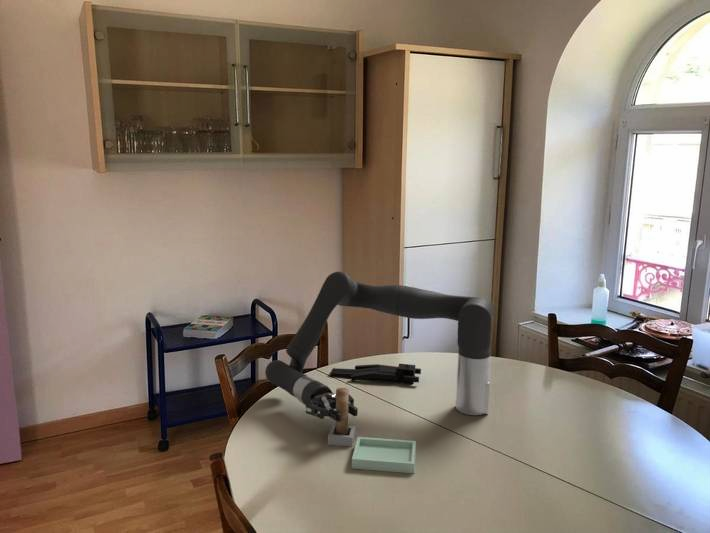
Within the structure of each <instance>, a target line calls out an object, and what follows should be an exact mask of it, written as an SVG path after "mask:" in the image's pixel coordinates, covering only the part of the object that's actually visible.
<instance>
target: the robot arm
mask: <svg viewBox="0 0 710 533" xmlns="http://www.w3.org/2000/svg"><path fill="white" fill-rule="evenodd" d="M337 306H341V307H349V308H351V307H352V308H360V309H361V308H363V309H369V310H374V311H376V312H381V313H385V314H389V315H392V316H398V317H401V318H402V317H403V318H405V319H406V318H408V319H415V320H429V319H448V320H453V321H457V348H458V350H457V351H458V352H457V353H458V354H457V371H456V373H457V374H456V376H457V377H456V391H455V395H456V396H455V409H456V410H457V411H458V412H459V413H461V414H464V415H466V416H481V415H488V414H489V404H490V386H491V385H490V384H491V383H490V371H491V370H490V369H491V354H492V347H491V332H492V323H493V320H494V318H495V308H494V306H493V305H492V303H491V302H490V301H488V300H487V299H485V298H483V297H478V296H467V295H466V296H462V295H453V294H447V293H441V292H437V291H433V290H428V289H422V288H418V287H414V286H407V285H401V284H389V285H372V284H366V283H361V282H359V281H355V280H353V279H352V278H351V277H350V276H349V275H348V274H347V273H345V272H343V271H334V272H332V273H330V274H329V275H328V276H327V277H326V278H325V280H324V282H323V283H322V286H321V288H320V290H319V292H318V295H317V296H316V299H315V301H314V303H313V304H312V307H311V309H310V311H309V312H308V314H307V316H306V318H305V319H304V321H303V323H302V324H301V325H300V327H299V329H298V330H297V332H296V333H295V334H294V336H293V338H292V339H291V341H290V342H289V343H288V345H287V346H286V349H285V353H286V354H287V355H288V356H289V358H290V363H289V364H288V363H286V362H285V361H282V360H279V359H274V360H272V361H270V362H269V363H268V364H267V365H266V367H265V370H264V374H265V378H266V379H267V381H268V382H269V383H271V384H273V385H275V386H277V387H279V388H281V389H282V390H284V391H285V392H287V393H288V394H290V395H291V396H292V397H294V398H295V399H297V401H299V402H300V403H302V404H303V405H304V406H305V413H306V415H307V414H308V415H310V416H313V417H316V418H318V419H325V418H327V419H329V418H330V419H332V421H335V422H336V421H337V422H340V421H341V414H340V413H339V412H337V411H336V393H334V392H333V391H332V390H331V388H330V387H329V386H328V385H326V384H324V383H322V382H321V381H319V380H317V379H315V378H314V377H310V376H308V375H306V374H305V373H303V371H304V368H305V365H306V363H307V360H308V358H309V356H310V355H311V353H312V352H313V350H314V349H315V347H316V346H317V344H318V343H319V340H320V339H321V336H322V334H323V331H324V328H325V326H326V323H327V321H328V319H329V317H330V315H331V313H332V312H333V310H334V309H335V308H336V307H337ZM358 409H359V408H358V407H356V406H355V399H354V398H353V397H352V396H351V394H350V393H348V415H350V416H353V417H357V416H358V414H359V413H358Z"/></svg>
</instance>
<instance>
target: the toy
mask: <svg viewBox="0 0 710 533" xmlns="http://www.w3.org/2000/svg"><path fill="white" fill-rule="evenodd" d="M421 374H422V368H417V367H416V364H407V363H398V365H397V366H395V365H385V364H378V363H377V364H376V363H375V364H360V365H359V364H358V365H355V366H354V368H334V367H333V368H332V369H331V371H330V372H329V375H330V376H329V377H332V378H342V377H343V378H345V379H351V382H354V381H361V380H368V379H384V380H393V381H394V380H396V383H397V384H406V385H408V384H409V385H414V383H417V384H418V383H419V382H420V376H416V375H421ZM343 378H342V379H343Z"/></svg>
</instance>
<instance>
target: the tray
mask: <svg viewBox="0 0 710 533" xmlns="http://www.w3.org/2000/svg"><path fill="white" fill-rule="evenodd" d="M416 449H417V440H406V439H404V440H403V439H395V438H394V439H393V438H392V439H391V438H379V437H378V438H377V437H367V436H365V437H364V436H363V437H362V436H357V438H356V442H355V446H354V449H353V454H352V458H351V469H355V470H368V471H370V470H371V471H380V472H393V473H402V474H403V473H406V474H415V466H416V453H417V450H416Z"/></svg>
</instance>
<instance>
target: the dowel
mask: <svg viewBox="0 0 710 533" xmlns="http://www.w3.org/2000/svg"><path fill="white" fill-rule="evenodd" d="M335 394H336V411H337V412H339V413H340V414H341V421H340V422H337V421H335V425H336V435H347V436H348V426H349V413H348V394H349V389H348V388H347V387H337V388H336V389H335Z"/></svg>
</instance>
